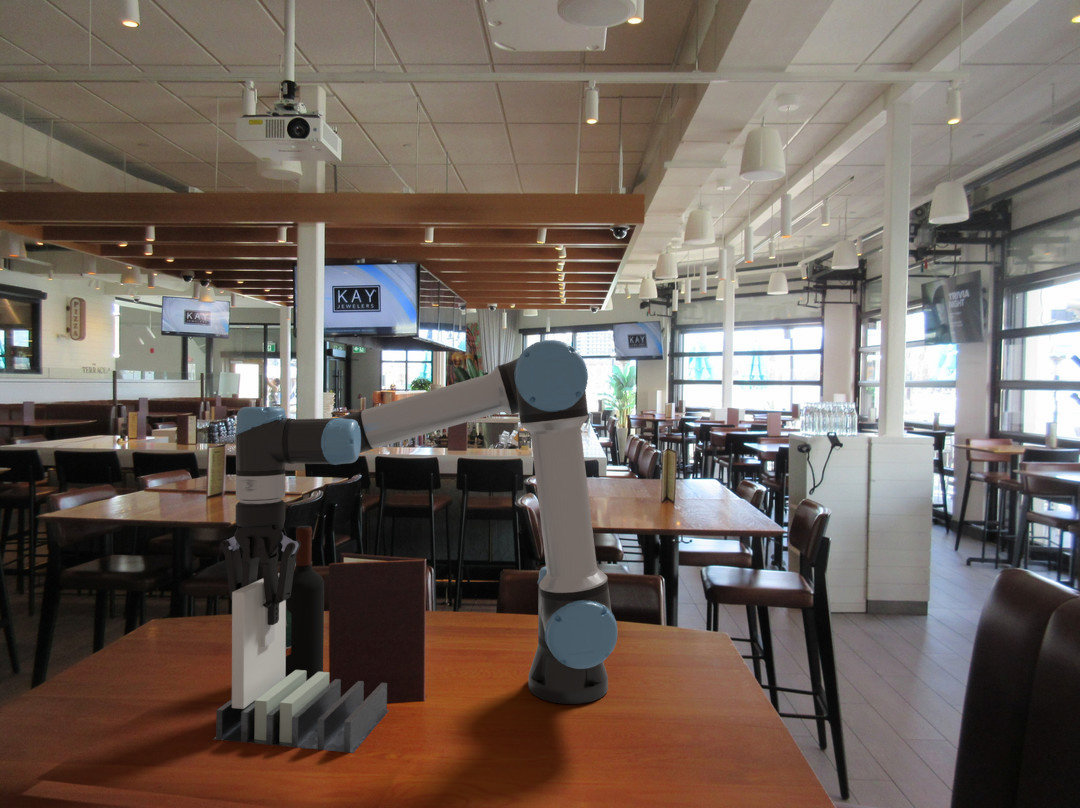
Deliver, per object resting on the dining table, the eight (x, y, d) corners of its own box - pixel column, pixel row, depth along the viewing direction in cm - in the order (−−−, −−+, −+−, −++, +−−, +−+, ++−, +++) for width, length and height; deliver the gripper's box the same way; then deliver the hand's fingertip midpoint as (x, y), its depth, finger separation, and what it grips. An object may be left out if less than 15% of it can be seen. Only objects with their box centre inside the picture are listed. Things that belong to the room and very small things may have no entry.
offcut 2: (328, 707, 112) (329, 672, 112) (291, 742, 100) (292, 703, 100) (318, 706, 112) (318, 671, 112) (279, 741, 100) (279, 702, 100)
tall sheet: (285, 677, 113) (285, 573, 113) (243, 708, 101) (244, 592, 101) (274, 676, 114) (275, 572, 114) (231, 707, 102) (232, 592, 102)
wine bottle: (309, 695, 120) (311, 531, 120) (272, 691, 122) (274, 529, 122) (330, 678, 127) (332, 524, 128) (295, 674, 129) (297, 522, 129)
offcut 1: (306, 705, 113) (306, 670, 113) (266, 740, 101) (266, 701, 101) (295, 704, 113) (295, 669, 113) (254, 739, 101) (254, 700, 101)
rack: (389, 718, 111) (389, 683, 111) (353, 762, 97) (353, 722, 97) (264, 707, 115) (265, 673, 115) (213, 748, 101) (213, 709, 101)
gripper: (204, 502, 105) (203, 649, 105) (291, 504, 103) (290, 654, 103) (233, 496, 113) (232, 633, 112) (314, 498, 110) (314, 638, 110)
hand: (260, 643), depth 108 cm, fingers closed on tall sheet, 2 cm apart
